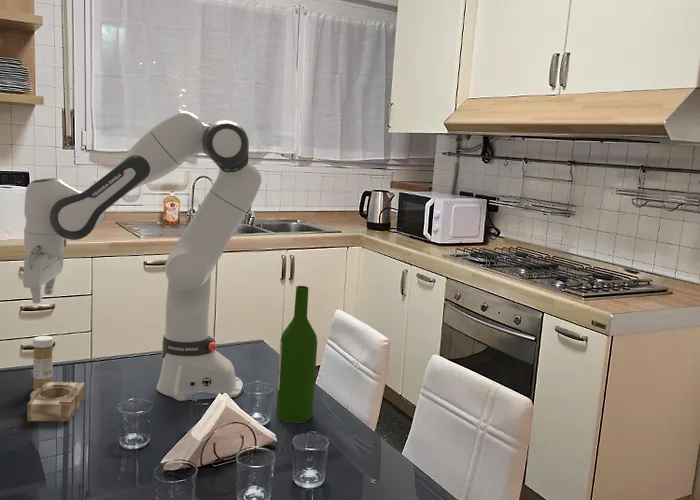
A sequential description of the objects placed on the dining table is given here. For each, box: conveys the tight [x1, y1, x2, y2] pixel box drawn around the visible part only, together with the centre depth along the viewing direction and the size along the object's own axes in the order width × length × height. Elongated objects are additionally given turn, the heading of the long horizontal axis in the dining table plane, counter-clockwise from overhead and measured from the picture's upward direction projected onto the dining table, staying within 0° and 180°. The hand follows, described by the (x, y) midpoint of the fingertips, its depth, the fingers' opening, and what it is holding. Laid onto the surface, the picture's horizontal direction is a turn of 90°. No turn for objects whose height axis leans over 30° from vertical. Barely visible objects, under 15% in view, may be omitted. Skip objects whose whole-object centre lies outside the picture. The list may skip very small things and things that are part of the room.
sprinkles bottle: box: [32, 335, 54, 391], centre depth 165 cm, size 5×5×13 cm
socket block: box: [26, 381, 86, 422], centre depth 154 cm, size 10×14×4 cm
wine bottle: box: [275, 285, 318, 423], centre depth 158 cm, size 9×9×32 cm
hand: (43, 298), depth 163 cm, fingers open, 8 cm apart
